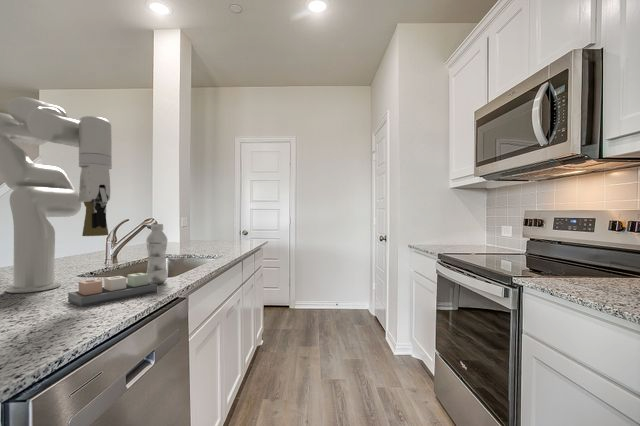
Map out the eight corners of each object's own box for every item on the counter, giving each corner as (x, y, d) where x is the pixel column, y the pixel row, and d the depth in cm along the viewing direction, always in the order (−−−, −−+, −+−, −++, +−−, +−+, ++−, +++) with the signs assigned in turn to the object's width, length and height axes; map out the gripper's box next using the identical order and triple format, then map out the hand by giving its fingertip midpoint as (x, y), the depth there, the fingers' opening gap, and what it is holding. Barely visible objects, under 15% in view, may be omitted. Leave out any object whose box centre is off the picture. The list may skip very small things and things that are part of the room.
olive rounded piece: (94, 236, 85) (94, 195, 85) (76, 236, 86) (76, 195, 86) (113, 234, 91) (113, 196, 91) (97, 234, 92) (96, 197, 92)
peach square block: (78, 292, 84) (78, 281, 84) (96, 290, 87) (96, 278, 87) (84, 295, 81) (84, 283, 81) (102, 292, 85) (102, 280, 85)
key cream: (104, 288, 89) (104, 277, 89) (119, 286, 92) (120, 275, 92) (110, 290, 86) (110, 279, 86) (126, 288, 90) (126, 277, 90)
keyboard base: (68, 302, 84) (68, 292, 84) (142, 288, 99) (142, 280, 99) (81, 308, 79) (81, 298, 79) (157, 293, 94) (157, 284, 94)
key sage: (127, 284, 94) (127, 274, 94) (141, 282, 97) (141, 272, 97) (133, 286, 91) (133, 276, 91) (147, 284, 94) (148, 273, 94)
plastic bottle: (144, 286, 102) (144, 224, 102) (147, 282, 108) (147, 224, 108) (166, 285, 104) (166, 224, 104) (168, 281, 110) (168, 223, 110)
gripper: (70, 164, 91) (70, 228, 91) (89, 156, 81) (90, 228, 80) (100, 167, 97) (100, 227, 97) (122, 160, 86) (122, 227, 86)
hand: (95, 227), depth 88 cm, fingers closed on olive rounded piece, 4 cm apart
